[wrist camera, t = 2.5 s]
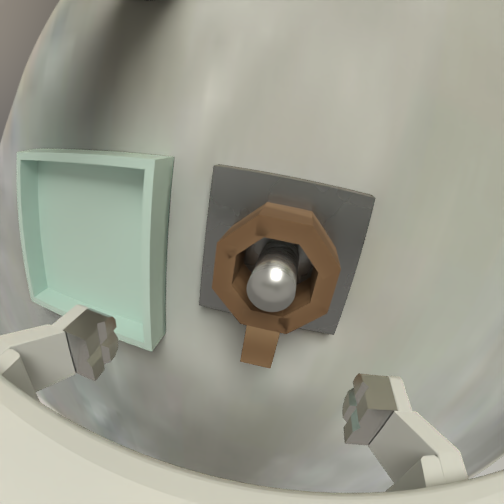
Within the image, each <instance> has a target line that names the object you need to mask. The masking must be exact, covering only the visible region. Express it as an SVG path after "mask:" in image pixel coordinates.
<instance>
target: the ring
mask: <svg viewBox="0 0 504 504" xmlns="http://www.w3.org/2000/svg"><path fill="white" fill-rule="evenodd" d="M263 237H266V238H270V239H275V240H280V241H285V242H290V243H294V244H299V245H300V246H301V248H302V249H303V250H304V252H305V253H306V255H307V256H308V258H309V259H310V261H311V262H312V264H313V269H312V273H311V277H310V278H308V279H306V280H304V281H303V282H301V283H299V284H297V285H296V292H295V297H294V300H293V302H292V303H291V304H290V305H289V306H288V307H287V308H285V309H284V310H281V311H278V312H267V311H263V310H261V309H259V308H257V307H256V306H255V305H254V304H253V303H252V302H251V301H250V299H249V297H248V295H247V283H248V281H249V278H250V276H251V274H252V273H251V272H250V270H249V269H248V268H247V266H246V265H245V264H244V258H245V252H246V248H248V247H249V246H251V245H253V244H254V243H256V242H257V241H259V240H260V239H262V238H263ZM340 271H341V267H340V263H339V259H338V254H337V250H336V247H335V246H334V244H333V242H332V241H331V239H330V238H329V236H328V235H327V233H326V231H325V230H324V228H323V227H322V225H321V224H320V222H319V221H318V219H317V218H316V216H315V215H314V213H313V212H312V211H309V210H304V209H300V208H295V207H290V206H285V205H280V204H275V203H270V202H267V203H265V204H264V205H262V206H261V207H259V208H258V209H256V210H255V211H253V212H252V213H250V214H249V215H247V216H246V217H244V218H243V219H242V220H240V221H239V222H237V223H236V224H234V225H233V226H232V227H231V228H230V229H229V230H228V231H227V232H226V233H225V234H224V235H223V236H222V238H221V239H220V240H219V241H218V242H217V246H216V254H215V263H214V272H213V281H212V289H213V290H214V292H215V293H216V294H217V295H218V297H219V298H220V299H221V300H222V302H223V303H224V304H225V305H226V307H227V308H228V309H229V310H230V312H231V313H232V314H233V315H234V316H235V318H236V319H237V320H238V321H239V323H240V324H244V325H247V327H246V332H245V338H244V343H243V349H242V354H241V360H240V361H241V362H245V363H249V364H253V365H258V366H262V367H267V368H271V364H272V361H273V357H274V353H275V349H276V346H277V342H278V338H279V334H280V333H284V334H287V333H289V332H291V331H293V330H295V329H297V328H299V327H302V326H304V325H306V324H308V323H309V322H311V321H313V320H315V319H317V318H319V317H321V316H323V315H325V314H327V313H328V310H329V307H330V303H331V300H332V297H333V294H334V291H335V287H336V284H337V281H338V277H339V274H340Z"/></svg>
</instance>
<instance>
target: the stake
mask: <svg viewBox="0 0 504 504" xmlns="http://www.w3.org/2000/svg"><path fill="white" fill-rule="evenodd" d="M267 202H270V203H275V204H280V205H285V206H290V207H295V208H300V209H304V210H309V211H312V212H313V213H314V215H315V216H316V218H317V219H318V221H319V222H320V224H321V225H322V227H323V228H324V230H325V231H326V233H327V235H328V236H329V238H330V239H331V241H332V242H333V244H334V246H335V247H336V250H337V254H338V259H339V263H340V267H341V271H340V274H339V277H338V281H337V284H336V287H335V291H334V294H333V297H332V300H331V303H330V307H329V310H328V313H327V314H325V315H323V316H321V317H319V318H317V319H315V320H313V321H311V322H309V323H308V324H306V325H304V326H302V327H299V328H301V329H306V330H312V331H317V332H322V333H327V334H333V335H334V333H335V330H336V328H337V325H338V322H339V319H340V317H341V314H342V311H343V308H344V305H345V302H346V299H347V296H348V293H349V290H350V287H351V284H352V281H353V277H354V274H355V271H356V268H357V264H358V261H359V258H360V254H361V251H362V247H363V244H364V240H365V237H366V233H367V229H368V226H369V222H370V218H371V214H372V210H373V206H374V202H375V197H374V196H372V195H370V194H366V193H362V192H358V191H354V190H350V189H345V188H341V187H337V186H333V185H328V184H324V183H319V182H314V181H310V180H305V179H300V178H295V177H290V176H285V175H279V174H274V173H269V172H263V171H257V170H252V169H246V168H239V167H233V166H227V165H220V164H218V165H214V168H213V175H212V183H211V191H210V200H209V208H208V217H207V226H206V236H205V245H204V256H203V266H202V277H201V289H200V301H199V305H201V306H205V307H209V308H213V309H217V310H221V311H225V312H229V313H231V312H230V310H229V309H228V308H227V307H226V305H225V304H224V303H223V302H222V300H221V299H220V298H219V297H218V295H217V294H216V293H215V292H214V290H213V289H212V281H213V272H214V263H215V254H216V246H217V242H218V241H219V240H220V239H221V238H222V236H223V235H224V234H225V233H226V232H227V231H228V230H229V229H230V228H231V227H232V226H233V225H234V224H236V223H237V222H239V221H240V220H242V219H243V218H244V217H246V216H247V215H249V214H250V213H252V212H253V211H255V210H256V209H258V208H259V207H261V206H262V205H264V204H265V203H267ZM244 264H245V265H246V266H247V268H248V269H249V270H250V272H251V273H252V274H251V276H250V278H249V281H248V283H247V295H248V297H249V299H250V301H251V302H252V303H253V304H254V305H255V306H256V307H257V308H259V309H261V310H263V311H267V312H278V311H281V310H284V309H285V308H287V307H288V306H289V305H290V304H291V303H292V302H293V300H294V297H295V292H296V285H297V284H299V283H301V282H303V281H304V280H306V279H308V278H310V277H311V273H312V269H313V264H312V262H311V261H310V259H309V258H308V256H307V255H306V253H305V252H304V250H303V249H302V248H301V246H300V245H299V244H294V243H290V242H285V241H280V240H275V239H270V238H266V237H263V238H262V239H260V240H259V241H257V242H256V243H254V244H253V245H251V246H249V247H248V248H246V252H245V258H244Z"/></svg>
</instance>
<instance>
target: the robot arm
mask: <svg viewBox="0 0 504 504" xmlns="http://www.w3.org/2000/svg"><path fill="white" fill-rule="evenodd" d="M115 328H116V320H115V318H114V317H112V316H110V315H107V314H104V313H102V312H99V311H97V310H94V309H92V308H88V307H86V306H84V305H81V304H78V305H75V306H74V307H73V308H72V309H71V310H69V311H68V312H67V313H66V314H64V315H63V316H62V317H61V318H60V319H58V320H57V321H56V322H55V323H54V324H52V325H49V324H47V325H43V326H39V327H34V328H30V329H26V330H22V331H18V332H13V333H9V334H5V335H1V336H0V504H504V470H501V471H498V472H495V473H491V474H488V475H484V476H480V477H476V478H472V479H468V476H467V473H466V469H465V466H464V463H463V459H462V456H461V453H460V451H459V450H458V449H457V448H456V447H455V446H454V445H453V444H451V443H450V442H449V441H448V440H447V439H446V438H445V437H444V436H443V435H442V434H440V433H439V432H438V431H437V430H436V429H435V428H434V427H433V426H432V425H431V424H429V423H428V422H427V421H426V420H425V419H424V418H423V417H422V416H421V415H420V414H418V413H417V412H415V411H412V408H411V405H410V402H409V398H408V395H407V392H406V389H405V386H404V383H403V380H402V378H401V377H396V376H379V375H369V374H360V373H359V374H358V375H357V376H356V377H355V379H354V381H353V386H354V388H353V389H351V390H349V391H348V393H347V395H346V397H345V399H344V403H343V410H342V414H343V418H344V419H345V421H346V422H347V423H346V425H345V426H344V440H345V444H358V445H369V446H368V447H369V448H370V450H371V451H372V452H373V454H374V455H375V457H376V458H377V459H378V461H379V462H380V464H381V465H382V467H383V468H384V469H385V471H386V472H387V474H388V475H389V476H390V478H391V479H392V481H393V482H394V484H393V485H392V486H391V487H390V488H389V489H387V490H386V491H385V492H373V493H328V492H310V491H298V490H288V489H280V488H273V487H266V486H259V485H253V484H248V483H243V482H237V481H233V480H228V479H224V478H219V477H215V476H211V475H207V474H203V473H200V472H196V471H192V470H189V469H185V468H182V467H179V466H176V465H173V464H169V463H166V462H164V461H161V460H158V459H155V458H152V457H149V456H147V455H144V454H141V453H139V452H136V451H134V450H131V449H129V448H127V447H124V446H122V445H119V444H117V443H115V442H113V441H110V440H108V439H106V438H104V437H102V436H100V435H98V434H96V433H94V432H92V431H90V430H88V429H86V428H84V427H82V426H80V425H78V424H76V423H74V422H72V421H71V420H69V419H67V418H65V417H63V416H62V415H60V414H58V413H57V412H55V411H53V410H52V409H50V408H48V407H47V406H45V405H43V404H42V403H40V401H39V399H38V397H37V395H36V392H37V391H39V390H42V389H44V388H46V387H48V386H51V385H53V384H55V383H57V382H59V381H62V380H64V379H66V378H68V377H70V376H72V375H75V374H76V373H78V374H80V375H82V376H84V377H87V378H89V379H91V380H94V381H96V380H97V378H98V377H99V376H100V375H101V373H102V372H103V371H104V370H105V367H104V364H106V363H108V362H111V361H112V360H113V358H114V357H115V355H116V352H117V350H118V337H117V335H116V334H115V332H114V330H115Z"/></svg>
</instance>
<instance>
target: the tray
mask: <svg viewBox="0 0 504 504" xmlns="http://www.w3.org/2000/svg"><path fill="white" fill-rule="evenodd" d="M173 164H174V157H171V156H162V155H152V154H141V153H130V152H116V151H101V150H80V149H32V150H26V151H20V152H17V203H18V217H19V228H20V237H21V245H22V252H23V259H24V265H25V271H26V276H27V281H28V286H29V291H30V296H31V300H32V301H33V302H35V303H37V304H39V305H41V306H43V307H45V308H47V309H49V310H51V311H53V312H55V313H57V314H59V315H62V316H63V315H64V314H66V313H67V312H68V311H69V310H71V309H72V308H73V307H74V306H75V305H78V304H81V305H84V306H86V307H88V308H92V309H94V310H97V311H99V312H102V313H104V314H107V315H110V316H112V317H114V318H115V320H116V328H115V330H114V332H115V334H116V335H117V337H118V340H121V341H123V342H126V343H129V344H132V345H134V346H137V347H140V348H143V349H145V350H148V351H151V352H152V351H153V350H154V348H155V347H156V345H157V344H158V343H159V341H160V340H161V338H162V337H163V336H164V334H165V333H166V263H167V240H168V223H169V209H170V196H171V185H172V174H173Z"/></svg>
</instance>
